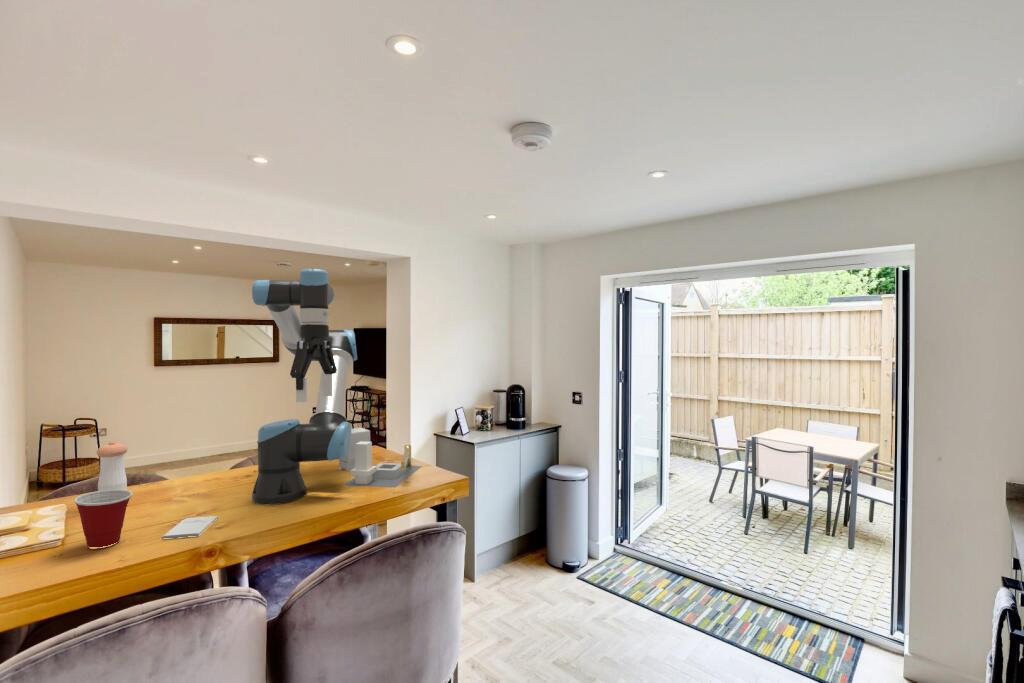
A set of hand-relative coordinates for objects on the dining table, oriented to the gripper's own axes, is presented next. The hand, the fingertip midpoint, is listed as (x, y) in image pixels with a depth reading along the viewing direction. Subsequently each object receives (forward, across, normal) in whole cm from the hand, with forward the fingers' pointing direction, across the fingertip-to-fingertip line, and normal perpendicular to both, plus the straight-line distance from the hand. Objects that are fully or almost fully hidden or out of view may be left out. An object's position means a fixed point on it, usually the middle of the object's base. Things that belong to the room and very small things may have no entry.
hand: (315, 399), depth 139 cm
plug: (+30, +23, -4) cm, 38 cm away
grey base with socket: (+32, +32, -7) cm, 46 cm away
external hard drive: (+32, -17, +25) cm, 44 cm away
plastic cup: (+32, -28, +38) cm, 57 cm away
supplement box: (+32, +42, +9) cm, 53 cm away
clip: (+30, +33, -14) cm, 47 cm away
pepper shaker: (+32, -4, +62) cm, 70 cm away
